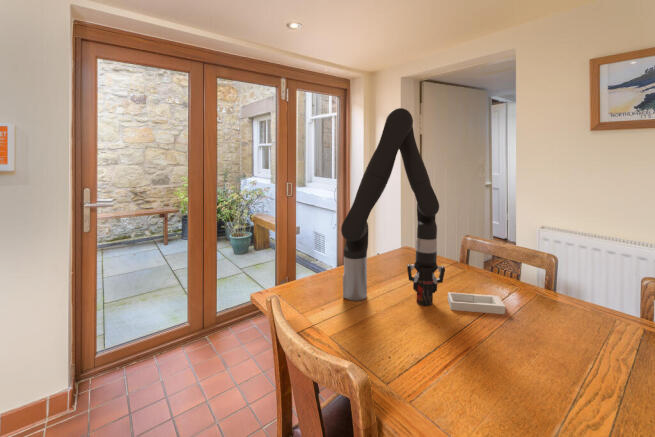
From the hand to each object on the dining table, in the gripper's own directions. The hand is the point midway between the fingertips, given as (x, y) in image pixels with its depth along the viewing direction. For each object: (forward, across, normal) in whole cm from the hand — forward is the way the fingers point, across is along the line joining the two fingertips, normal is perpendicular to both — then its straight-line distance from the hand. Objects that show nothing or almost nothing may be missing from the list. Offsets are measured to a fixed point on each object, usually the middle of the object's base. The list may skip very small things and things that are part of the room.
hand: (424, 291), depth 122 cm
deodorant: (+5, 0, 0) cm, 5 cm away
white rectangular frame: (+5, +18, 0) cm, 19 cm away
